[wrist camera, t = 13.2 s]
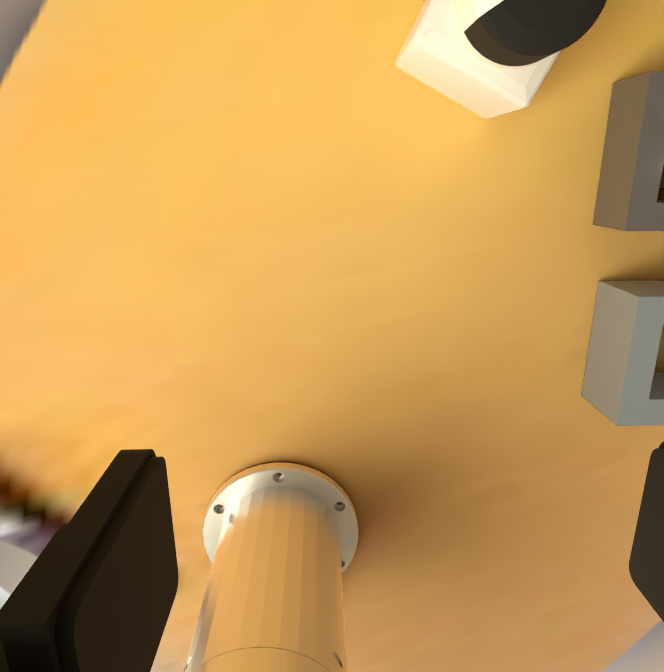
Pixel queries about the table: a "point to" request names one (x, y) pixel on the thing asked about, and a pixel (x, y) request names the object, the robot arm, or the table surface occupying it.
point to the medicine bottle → (492, 48)
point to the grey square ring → (633, 156)
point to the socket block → (626, 353)
